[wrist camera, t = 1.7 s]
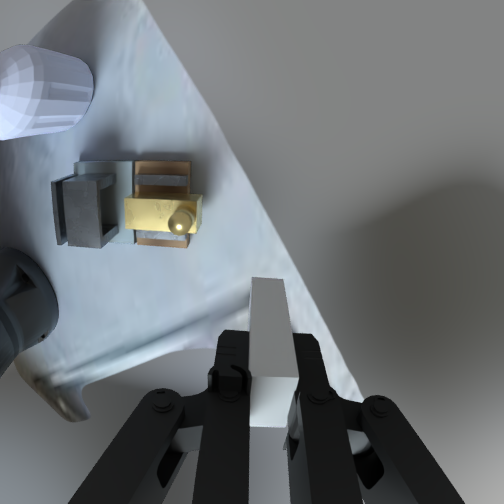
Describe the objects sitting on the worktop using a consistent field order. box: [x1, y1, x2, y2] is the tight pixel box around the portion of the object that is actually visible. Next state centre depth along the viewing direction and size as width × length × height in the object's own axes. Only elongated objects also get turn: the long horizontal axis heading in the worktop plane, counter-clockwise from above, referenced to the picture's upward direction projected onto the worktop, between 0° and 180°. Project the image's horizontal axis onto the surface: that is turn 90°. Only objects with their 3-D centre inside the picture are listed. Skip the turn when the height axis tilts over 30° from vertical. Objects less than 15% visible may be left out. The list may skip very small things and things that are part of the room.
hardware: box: [51, 173, 188, 249], centre depth 28 cm, size 13×7×5 cm, turn 85°
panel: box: [74, 160, 191, 248], centre depth 31 cm, size 13×9×1 cm
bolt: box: [124, 191, 202, 236], centre depth 28 cm, size 7×3×5 cm, turn 85°
